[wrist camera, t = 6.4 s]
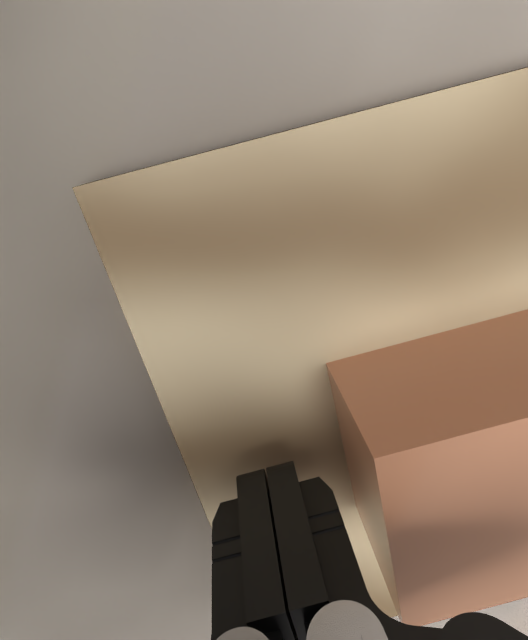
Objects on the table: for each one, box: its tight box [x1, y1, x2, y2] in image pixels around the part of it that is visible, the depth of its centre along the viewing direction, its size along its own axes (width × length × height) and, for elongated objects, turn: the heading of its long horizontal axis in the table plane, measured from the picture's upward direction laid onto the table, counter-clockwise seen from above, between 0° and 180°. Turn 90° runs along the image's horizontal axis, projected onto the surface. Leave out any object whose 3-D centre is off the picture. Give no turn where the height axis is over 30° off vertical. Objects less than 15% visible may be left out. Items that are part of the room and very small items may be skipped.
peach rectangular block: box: [326, 309, 528, 626], centre depth 10 cm, size 5×6×4 cm
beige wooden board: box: [73, 67, 528, 617], centre depth 12 cm, size 16×12×1 cm
